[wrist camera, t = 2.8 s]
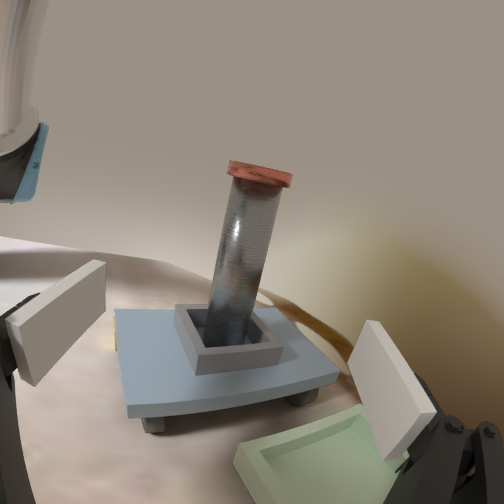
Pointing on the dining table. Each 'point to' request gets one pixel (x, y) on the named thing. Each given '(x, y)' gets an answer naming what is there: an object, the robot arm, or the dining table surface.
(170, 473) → the dining table surface
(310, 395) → the cart
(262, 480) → the tray
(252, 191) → the pin
